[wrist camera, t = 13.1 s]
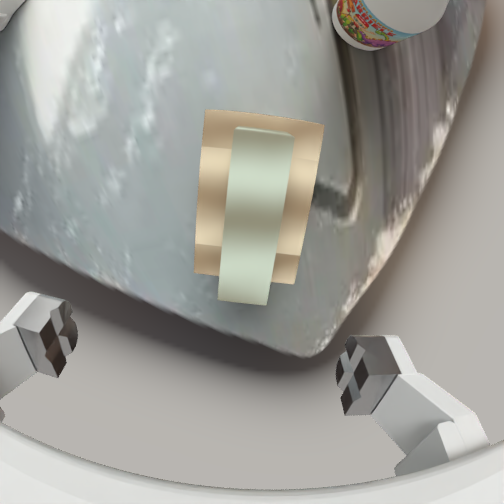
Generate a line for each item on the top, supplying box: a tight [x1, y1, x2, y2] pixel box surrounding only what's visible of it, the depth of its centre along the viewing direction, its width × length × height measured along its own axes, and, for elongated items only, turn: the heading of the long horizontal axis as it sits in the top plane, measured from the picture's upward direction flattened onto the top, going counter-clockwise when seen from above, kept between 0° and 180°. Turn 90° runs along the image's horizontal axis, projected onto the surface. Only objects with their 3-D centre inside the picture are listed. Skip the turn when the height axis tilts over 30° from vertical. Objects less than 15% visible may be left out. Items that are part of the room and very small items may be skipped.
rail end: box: [218, 126, 295, 305], centre depth 24 cm, size 12×4×9 cm, turn 173°
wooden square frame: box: [194, 110, 325, 284], centre depth 29 cm, size 14×9×12 cm, turn 173°
